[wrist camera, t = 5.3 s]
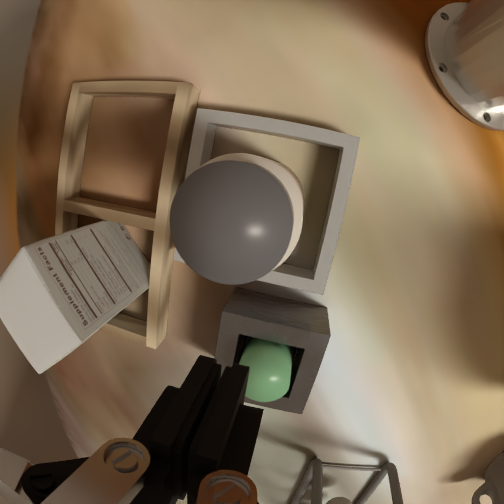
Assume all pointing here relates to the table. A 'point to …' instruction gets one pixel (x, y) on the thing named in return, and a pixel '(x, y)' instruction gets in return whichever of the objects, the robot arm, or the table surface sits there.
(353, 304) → the table surface
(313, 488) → the newton's cradle
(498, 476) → the coffee mug
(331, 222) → the frame
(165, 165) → the wooden frame with crossbar
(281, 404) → the grey square holder
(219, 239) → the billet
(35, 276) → the supplement box
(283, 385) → the button
